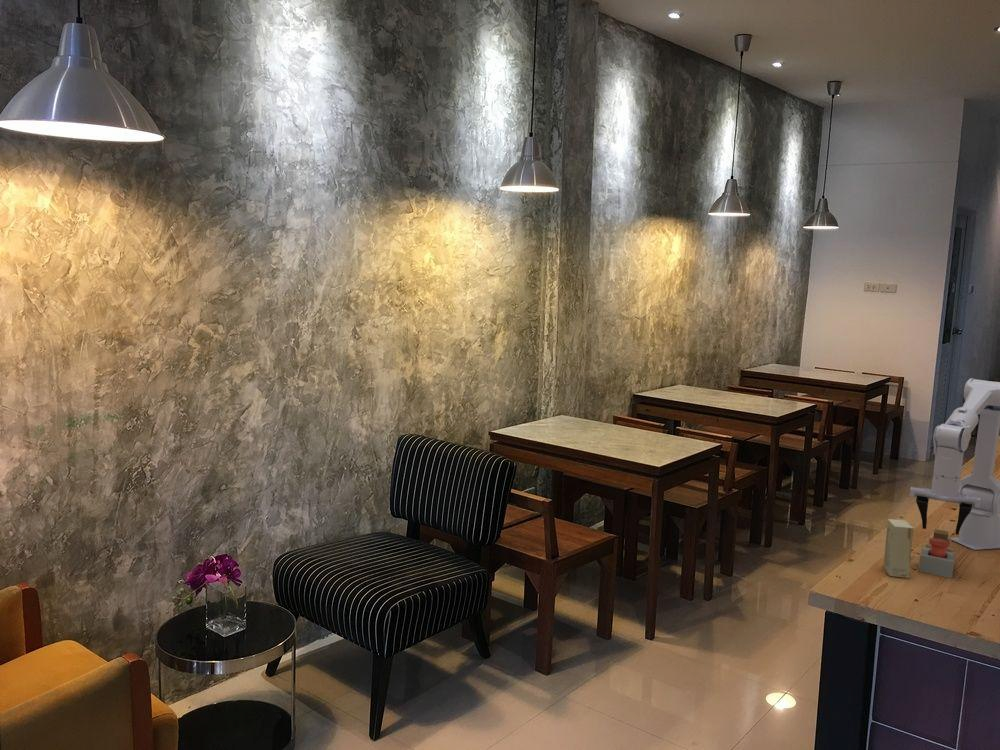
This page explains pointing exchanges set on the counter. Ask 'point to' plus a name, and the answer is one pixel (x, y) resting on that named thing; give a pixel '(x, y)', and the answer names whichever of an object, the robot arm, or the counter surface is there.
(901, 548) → the skincare box
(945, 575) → the grey rectangular block
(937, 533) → the carriage
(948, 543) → the plunger
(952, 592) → the counter surface
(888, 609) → the counter surface
